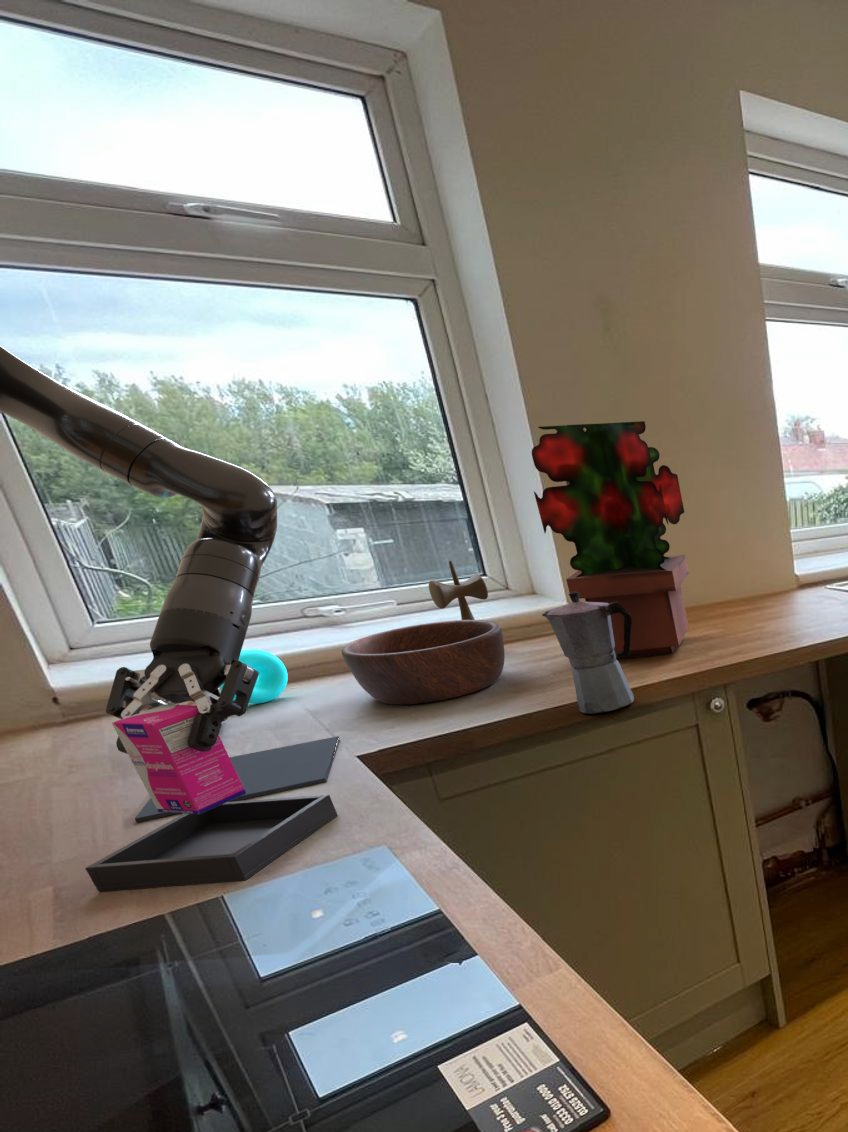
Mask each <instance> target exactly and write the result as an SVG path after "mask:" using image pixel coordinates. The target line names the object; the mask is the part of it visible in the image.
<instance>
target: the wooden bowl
mask: <svg viewBox="0 0 848 1132" xmlns="http://www.w3.org/2000/svg"><path fill="white" fill-rule="evenodd" d="M341 656H342V658H343V660H344V662H345V663H346V665H347V667H348V669H349V670H350V672H351V674H352V676H353V677H354V679H355V680H356V681H357V683H358V684H359V685H360V687H361V688H362V689H363V691H365V692H366V693H367V694H368V695H370V696H371V697H372V698H373V699H375V700H376V701H378V702H381V703H383V704H386V705H387V704H388V705H417V704H418V705H419V704H426V703H432V702H439V701H444V700H449V699H454V698H458V697H462V696H465V695H468V694H472V693H475V692H478V691H480V690H483V689H486V688H487V687H490V686H491V685H493V684H495V683H496V682H497V681H498V680H499V678H500V677H501V675H502V673H503V671H504V665H505V659H506V657H505V656H506V655H505V643H504V635H503V631H502V627H501V625H500V624H499V623H497V622H495V621H492V620H487V619H475V620H462V619H455V620H444V621H435V622H428V623H419V624H415V625H408V626H403V627H398V628H394V629H389V630H384V631H380V632H377V633H373V634H370V635H366V636H363V637H360V638H358V639H355V640H353V641H351V642H349V643H347V644H346V645H345V646H343V647H342V649H341Z"/></svg>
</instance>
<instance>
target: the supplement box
mask: <svg viewBox="0 0 848 1132" xmlns="http://www.w3.org/2000/svg"><path fill="white" fill-rule="evenodd" d="M196 715H201V713H200V712H199V711H198V708H197V706H195V705H178V704H175V705H169V704H164V705H161V706H158V707H155V708H153V709H150V710H148V709H147V710H145V711H142V712H141V711H140V712H139V714H135V715H132V716H129V717H126V718H123V719H120V718H119V719H116V720H115V721H112V722H111V725H112V727H113V728H114V730H115V732H116V734H117V737H118V736H119V738H120V740H121V742H122V744H123V746H124V748H125V749H126V751H127V753H128V754H127V755H128V757H129V759H130V761H131V763H132V765H133V767H134V768H135V770H136V773H137V775H138V776H139V778H140V780H141V781H142V784H143V786H144V787H145V789H146V792H147V793H148V795H149V797H150V798H151V799H152V801H153V803H154V805H155V806H156V808H157V810H158V812H172V813H179V814H184V813H187V814H197V815H199V814H202V813H204V812H206V811H208V810H211V809H213V808H215V807H217V806H219V805H222V804H224V803H226V802H228V801H231V800H233V799H235V798H237V797H240V796H242V795H244V794H246V791H245V789H244V787H243V785H242V783H241V781H240V779H239V777H238V775H237V772H236V770H235V768H234V766H233V764H232V762H231V760H230V758H229V757H230V756H229V753H228V751H227V749H226V747H225V744H224V743H223V741H222V739H221V737H220V735H219V734H218V737H217V741H216V743H215V744H214V746H212V748H211V750H210V751H203V752H201V751H198V750H196V749H193V748H191V747H189V746H188V744H187V742H188V739H189V735H190V732H191V729H192V725H193V722H194V719H195V716H196Z"/></svg>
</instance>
